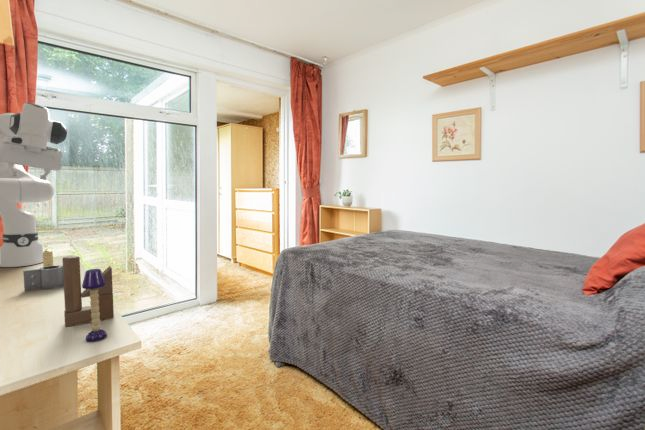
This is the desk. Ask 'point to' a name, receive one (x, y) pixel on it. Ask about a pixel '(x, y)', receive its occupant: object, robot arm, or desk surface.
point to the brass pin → (47, 258)
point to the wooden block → (84, 294)
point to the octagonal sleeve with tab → (43, 278)
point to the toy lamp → (94, 302)
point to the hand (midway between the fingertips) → (28, 177)
